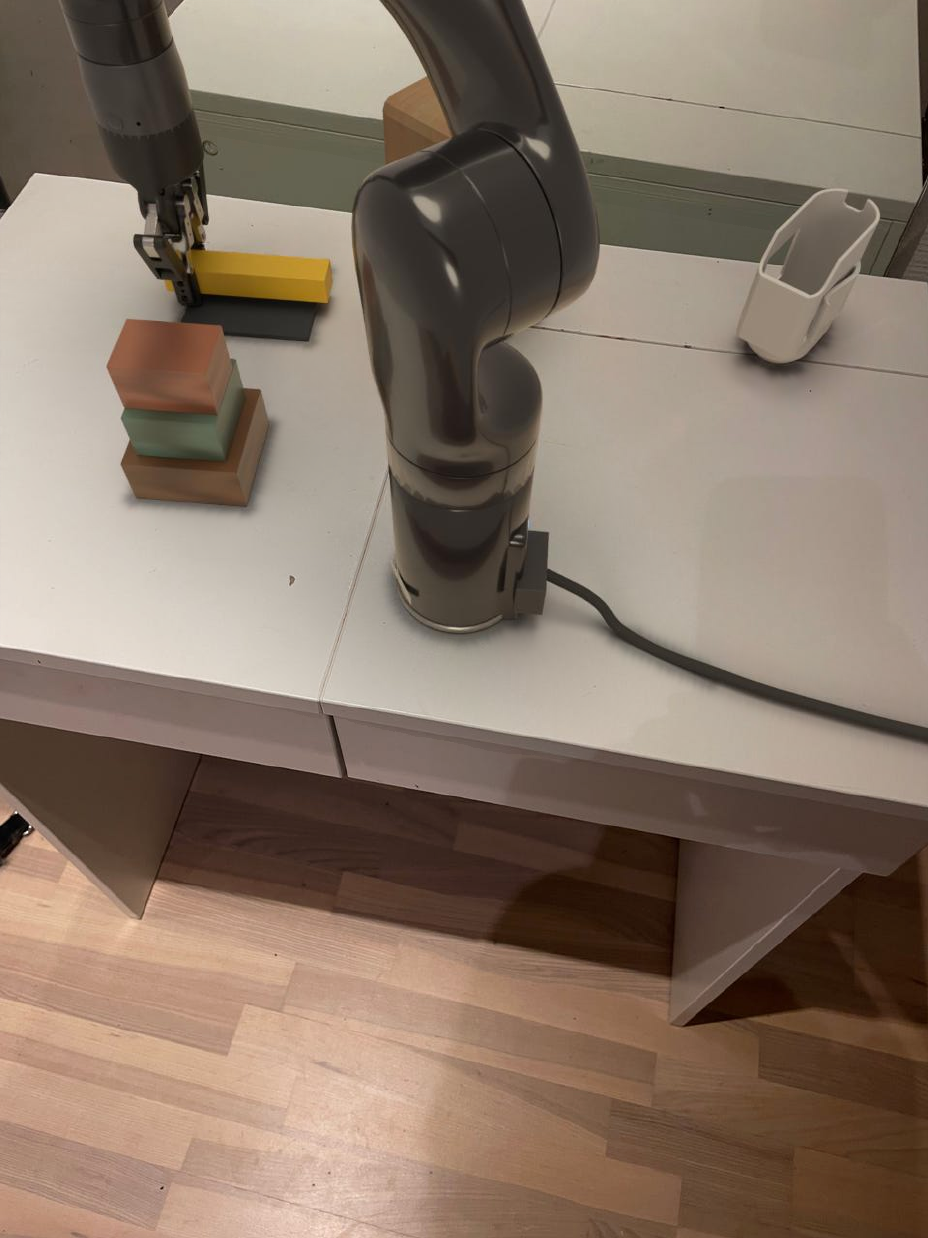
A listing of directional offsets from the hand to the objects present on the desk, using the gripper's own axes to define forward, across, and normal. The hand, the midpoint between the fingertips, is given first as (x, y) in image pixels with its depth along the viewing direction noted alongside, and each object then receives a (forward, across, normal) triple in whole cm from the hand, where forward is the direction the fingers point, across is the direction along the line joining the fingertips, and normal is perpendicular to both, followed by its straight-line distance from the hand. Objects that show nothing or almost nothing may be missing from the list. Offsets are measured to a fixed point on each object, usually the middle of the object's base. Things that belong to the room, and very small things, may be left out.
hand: (196, 290), depth 82 cm
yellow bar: (-1, 0, -5) cm, 5 cm away
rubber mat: (+1, 0, -6) cm, 6 cm away
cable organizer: (+1, -1, -54) cm, 55 cm away
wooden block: (+1, 0, -26) cm, 26 cm away
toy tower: (+1, -20, -6) cm, 21 cm away
